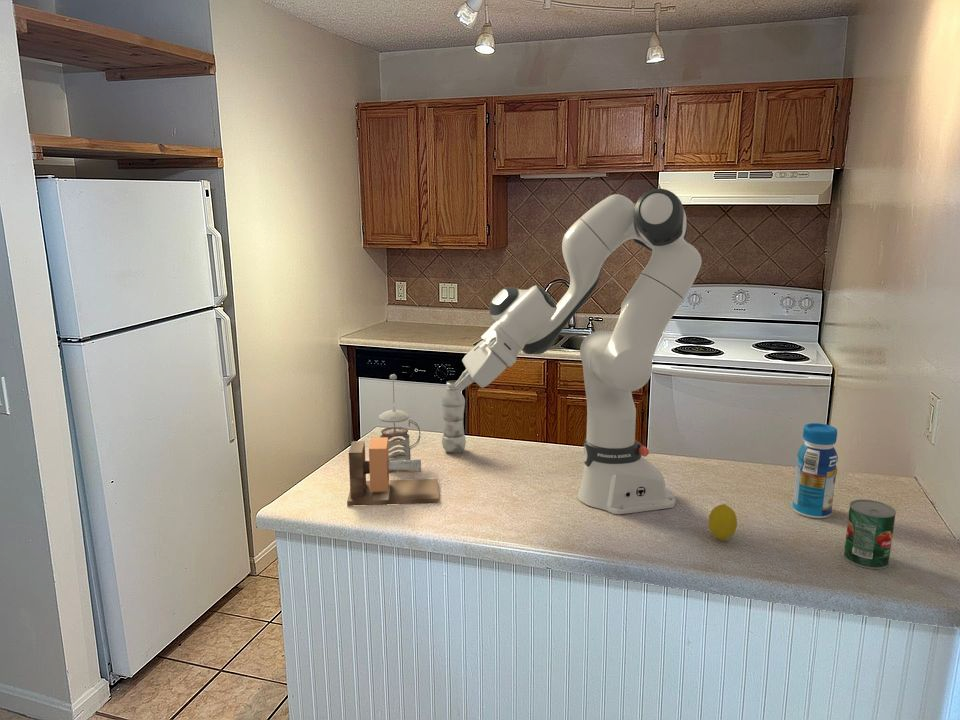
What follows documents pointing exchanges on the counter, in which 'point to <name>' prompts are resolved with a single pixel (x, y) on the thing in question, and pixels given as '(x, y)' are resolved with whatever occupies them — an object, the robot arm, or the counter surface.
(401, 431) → the french press
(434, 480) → the pipe stand
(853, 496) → the counter surface
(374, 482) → the collar
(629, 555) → the counter surface
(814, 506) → the beverage bottle
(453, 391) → the plastic bottle
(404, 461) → the steel pipe
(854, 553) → the canned tomato
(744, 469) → the counter surface
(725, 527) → the lemon
